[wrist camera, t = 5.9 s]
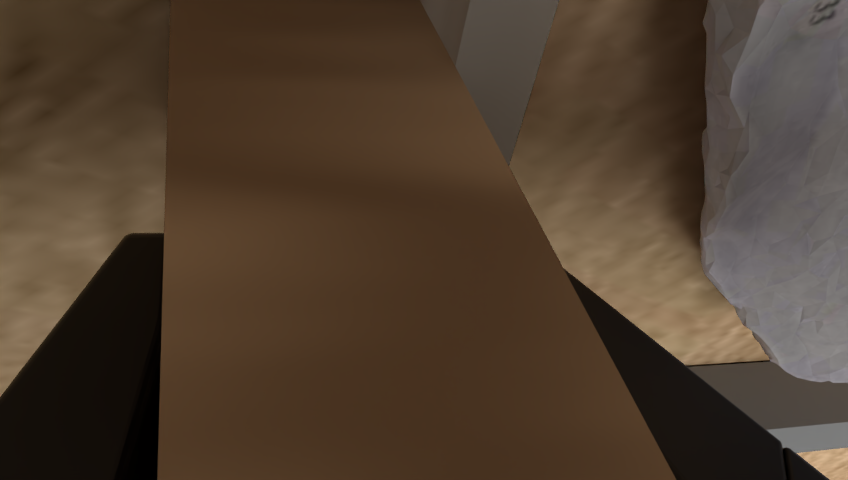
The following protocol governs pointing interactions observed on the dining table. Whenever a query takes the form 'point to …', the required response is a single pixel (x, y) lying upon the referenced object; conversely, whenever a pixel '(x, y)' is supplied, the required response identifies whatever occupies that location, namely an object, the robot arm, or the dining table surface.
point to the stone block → (780, 176)
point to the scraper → (371, 255)
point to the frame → (785, 403)
